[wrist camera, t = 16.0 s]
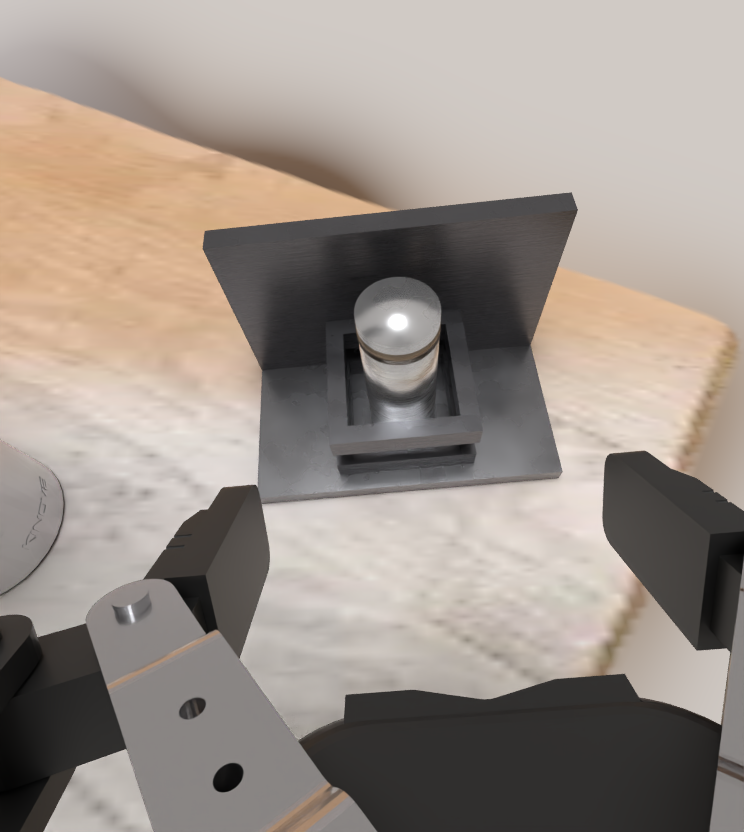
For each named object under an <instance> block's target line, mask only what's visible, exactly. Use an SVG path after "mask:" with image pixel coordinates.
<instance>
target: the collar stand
mask: <svg viewBox="0 0 744 832" xmlns="http://www.w3.org/2000/svg"><path fill="white" fill-rule="evenodd" d="M577 210H578V209H577V207H576V204H575V201H574V198H573V195H572V193H562V194H553V195H543V196H534V197H524V198H515V199H506V200H496V201H487V202H477V203H467V204H458V205H448V206H439V207H429V208H419V209H410V210H400V211H391V212H381V213H372V214H362V215H352V216H343V217H333V218H324V219H314V220H305V221H295V222H286V223H276V224H267V225H257V226H248V227H238V228H228V229H219V230H209V231H205V234H204V242H203V250H204V252H205V255H206V257H207V259H208V261H209V263H210V265H211V267H212V269H213V271H214V273H215V275H216V277H217V279H218V281H219V283H220V285H221V287H222V289H223V291H224V293H225V295H226V297H227V299H228V301H229V304H230V306H231V308H232V310H233V312H234V314H235V316H236V318H237V320H238V322H239V324H240V326H241V328H242V330H243V332H244V334H245V336H246V338H247V340H248V342H249V344H250V346H251V348H252V350H253V353H254V355H255V357H256V359H257V361H258V363H259V365H260V367H261V369H262V390H261V415H260V441H259V466H258V490H259V494H260V499H261V503H272V502H284V501H295V500H307V499H319V498H330V497H342V496H353V495H365V494H376V493H388V492H400V491H411V490H423V489H434V488H446V487H458V486H469V485H481V484H492V483H504V482H515V481H527V480H539V479H550V478H558V477H559V476H560V475H561V473H562V468H561V464H560V460H559V456H558V452H557V448H556V444H555V440H554V436H553V432H552V428H551V424H550V421H549V417H548V413H547V409H546V405H545V401H544V397H543V393H542V389H541V385H540V381H539V377H538V373H537V369H536V365H535V361H534V358H533V354H532V350H531V346H530V344H531V342H532V339H533V336H534V333H535V330H536V327H537V324H538V322H539V319H540V316H541V313H542V310H543V307H544V305H545V302H546V299H547V296H548V293H549V290H550V287H551V285H552V282H553V279H554V276H555V273H556V270H557V268H558V265H559V262H560V259H561V256H562V253H563V250H564V247H565V245H566V242H567V239H568V236H569V233H570V231H571V228H572V225H573V222H574V219H575V216H576V214H577ZM391 277H408V278H412V279H416V280H419V281H421V282H423V283H425V284H426V285H428V286H429V287H430V288H431V289H432V290H433V291H434V292H435V293H436V295H437V296H438V298H439V301H440V304H441V331H440V337H439V351H438V366H437V381H436V396H435V411H434V418H428V419H417V420H406V421H395V422H384V423H373V421H372V417H371V412H370V406H369V400H368V394H367V388H366V383H365V377H364V371H363V365H362V359H361V353H360V348H359V342H358V339H357V334H356V328H355V319H354V308H355V304H356V301H357V299H358V297H359V296H360V294H361V293H362V292H363V291H364V290H365V289H366V288H367V287H369V286H370V285H372V284H373V283H375V282H377V281H380V280H382V279H386V278H391Z"/></svg>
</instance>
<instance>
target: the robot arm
mask: <svg viewBox="0 0 744 832" xmlns="http://www.w3.org/2000/svg"><path fill="white" fill-rule="evenodd" d="M63 506H64V503H63V494H62V489H61V487H60V484H59V482H58V479H57V478H56V477H55V475H54V474H53V473H52V472H51V470H50V469H48V468H47V467H46V466H44V465H43V464H41V463H40V462H38V461H36V460H35V459H33V458H31V457H30V456H28V455H26V454H24V453H23V452H21V451H19V450H17V449H16V448H14V447H12V446H11V445H9V444H7V443H5V442H4V441H2V440H1V439H0V594H2V593H4V592H6V591H8V590H9V589H11V588H12V587H13V586H15V585H16V584H18V583H19V582H21V581H22V580H23V579H24V578H25V577H27V576H28V575H29V574H30V573H31V572H32V571H33V570H34V569H35V568H36V567H37V566H38V564H39V563H40V562H41V560H42V559H43V558H44V556H45V555H46V554H47V552H48V551H49V549H50V547H51V546H52V544H53V542H54V540H55V538H56V536H57V533H58V530H59V527H60V524H61V521H62V515H63ZM602 518H603V527H604V531H605V534H606V537H607V539H608V541H609V543H610V545H611V546H612V547H613V548H614V550H615V551H616V552H617V553H618V554H619V556H620V557H621V558H622V559H623V561H624V562H625V563H626V564H627V566H628V567H629V568H630V569H631V570H632V572H633V573H634V574H635V575H636V577H637V578H638V579H639V580H640V581H641V583H642V584H643V585H644V586H645V588H646V589H647V590H648V591H649V593H650V594H651V595H652V596H653V597H654V599H655V600H656V601H657V602H658V604H659V605H660V606H661V607H662V609H663V610H664V611H665V612H666V613H667V615H668V616H669V617H670V618H671V619H672V621H673V622H674V623H675V624H676V626H677V627H678V628H679V629H680V631H681V632H682V633H683V634H684V635H685V637H686V638H687V639H688V640H689V642H690V643H691V644H692V645H693V647H695V649H696V650H710V649H722V648H727V649H728V650H729V651H730V659H729V667H728V674H727V682H726V689H725V697H724V704H723V711H722V719H721V725H720V724H718V723H716V722H714V721H712V720H710V719H708V718H706V717H703V716H701V715H698V714H696V713H693V712H691V711H688V710H686V709H683V708H680V707H677V706H674V705H670V704H667V703H663V702H659V701H654V700H650V699H645V698H639V697H638V695H637V694H636V692H635V690H634V689H633V687H632V685H631V684H630V682H629V680H628V679H627V677H626V675H625V674H617V675H604V676H591V677H577V678H564V679H554V680H551V681H548V682H545V683H541V684H538V685H535V686H532V687H529V688H526V689H522V690H519V691H516V692H513V693H510V694H507V695H503V696H500V697H497V698H493V699H486V700H484V699H475V698H468V697H461V696H453V695H446V694H439V693H432V692H425V691H418V690H404V691H391V692H378V693H364V694H351V695H346V697H345V713H344V719H341V720H338V721H335V722H333V723H330V724H328V725H326V726H324V727H321V728H319V729H317V730H315V731H314V732H312V733H310V734H308V735H307V736H305V737H303V738H302V739H300V740H299V741H297V739H296V738H295V736H294V735H293V734H292V732H291V731H290V729H289V728H288V727H287V725H286V724H285V722H284V721H283V720H282V718H281V717H280V715H279V714H278V713H277V711H276V710H275V708H274V707H273V706H272V704H271V703H270V701H269V700H268V699H267V697H266V696H265V694H264V693H263V692H262V690H261V689H260V687H259V686H258V685H257V683H256V682H255V680H254V679H253V678H252V676H251V675H250V673H249V672H248V671H247V669H246V668H245V666H244V665H243V664H242V662H241V661H240V659H239V658H240V655H241V652H242V649H243V646H244V643H245V640H246V637H247V634H248V631H249V628H250V625H251V622H252V619H253V616H254V613H255V610H256V607H257V604H258V601H259V598H260V595H261V592H262V589H263V586H264V583H265V580H266V577H267V574H268V570H269V562H270V551H269V543H268V537H267V532H266V526H265V521H264V515H263V510H262V504H261V499H260V494H259V490H258V488H257V486H256V485H246V486H234V487H223V488H222V489H221V490H220V492H219V493H218V495H217V497H216V498H215V500H214V501H213V503H212V504H211V506H210V507H209V509H208V510H200V511H199V512H197V513H196V514H195V515H193V516H192V517H190V518H189V519H188V520H186V521H185V522H183V524H182V525H181V527H180V528H179V530H178V531H177V532H176V534H175V535H174V538H172V539H171V541H170V542H169V544H168V545H167V546H166V550H164V551H163V552H162V554H161V555H160V556H159V558H158V559H157V561H156V562H155V563H154V565H153V566H152V568H151V569H150V571H149V572H148V573H147V575H146V576H145V578H144V579H143V580H140V581H136V582H132V583H129V584H126V585H124V586H121V587H119V588H117V589H115V590H113V591H111V592H110V593H108V594H106V595H105V596H103V597H102V598H101V599H100V600H98V601H97V602H96V603H95V604H94V605H93V606H92V608H91V609H90V610H89V612H88V614H87V617H86V624H83V625H80V626H76V627H73V628H69V629H66V630H62V631H59V632H55V633H51V634H48V635H44V636H41V637H37V634H36V632H35V629H34V626H33V623H32V621H31V620H30V618H28V617H26V616H23V615H6V616H0V832H43V831H44V829H45V827H46V825H47V823H48V821H49V819H50V817H51V816H52V814H53V812H54V810H55V808H56V806H57V804H58V802H59V800H60V798H61V796H62V794H63V792H64V790H65V789H66V787H67V785H68V783H69V781H70V779H71V777H72V775H73V773H74V771H75V769H76V767H77V766H79V765H82V764H85V763H88V762H90V761H93V760H96V759H99V758H102V757H104V756H107V755H110V754H113V753H116V752H119V751H121V750H124V749H127V751H128V755H129V758H130V761H131V764H132V767H133V770H134V773H135V776H136V779H137V782H138V785H139V788H140V791H141V795H142V798H143V801H144V804H145V807H146V810H147V813H148V816H149V819H150V822H151V825H152V828H153V831H154V832H744V511H743V510H741V509H740V508H738V507H737V506H736V505H734V504H732V503H731V502H728V501H727V499H726V498H724V497H723V496H721V495H720V494H718V493H717V492H715V493H714V492H713V489H711V488H710V487H708V486H707V485H705V484H704V483H703V482H701V481H700V480H698V479H697V478H694V477H692V476H689V475H686V474H684V473H681V472H678V471H676V470H673V469H670V468H669V467H668V466H666V465H665V464H663V463H662V462H661V461H659V460H658V459H656V458H655V457H654V456H652V455H651V454H650V453H648V452H646V451H635V452H624V453H613V454H609V455H608V456H607V458H606V461H605V469H604V492H603V517H602Z"/></svg>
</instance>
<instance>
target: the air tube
mask: <svg viewBox="0 0 744 832" xmlns="http://www.w3.org/2000/svg"><path fill="white" fill-rule="evenodd" d="M354 319H355V328H356V334H357V339H358V342H359V348H360V353H361V359H362V365H363V371H364V377H365V383H366V388H367V394H368V400H369V406H370V412H371V417H372V421H373V423H384V422H395V421H406V420H417V419H428V418H434V411H435V396H436V381H437V366H438V351H439V337H440V331H441V304H440V301H439V298H438V296H437V295H436V293H435V292H434V291H433V290H432V289H431V288H430V287H429V286H428V285H426V284H425V283H423V282H421V281H419V280H416V279H412V278H408V277H391V278H386V279H382V280H380V281H377V282H375V283H373V284H372V285H370V286H369V287H367V288H366V289H365V290H364V291H363V292H362V293H361V294H360V296H359V297H358V299H357V301H356V304H355V308H354Z"/></svg>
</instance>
